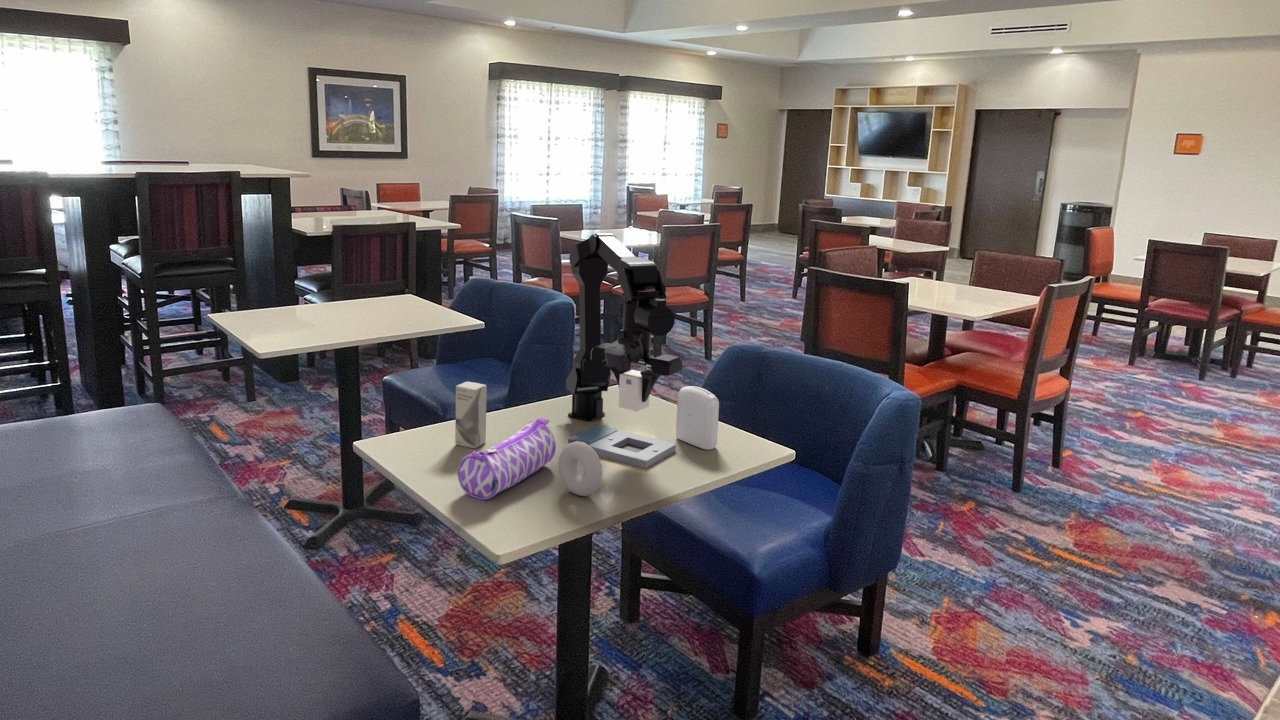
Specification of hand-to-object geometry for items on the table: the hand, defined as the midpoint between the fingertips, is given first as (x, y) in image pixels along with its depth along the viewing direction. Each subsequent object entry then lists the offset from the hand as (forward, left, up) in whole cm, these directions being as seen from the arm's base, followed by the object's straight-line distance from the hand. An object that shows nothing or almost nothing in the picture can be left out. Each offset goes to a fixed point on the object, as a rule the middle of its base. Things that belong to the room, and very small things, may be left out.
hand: (634, 399), depth 169 cm
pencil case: (-10, -27, -12) cm, 31 cm away
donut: (+4, -24, -12) cm, 27 cm away
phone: (-11, +2, -11) cm, 16 cm away
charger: (0, 0, -2) cm, 2 cm away
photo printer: (+8, +13, -12) cm, 19 cm away
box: (-29, -17, -12) cm, 35 cm away
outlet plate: (0, 0, -11) cm, 11 cm away
